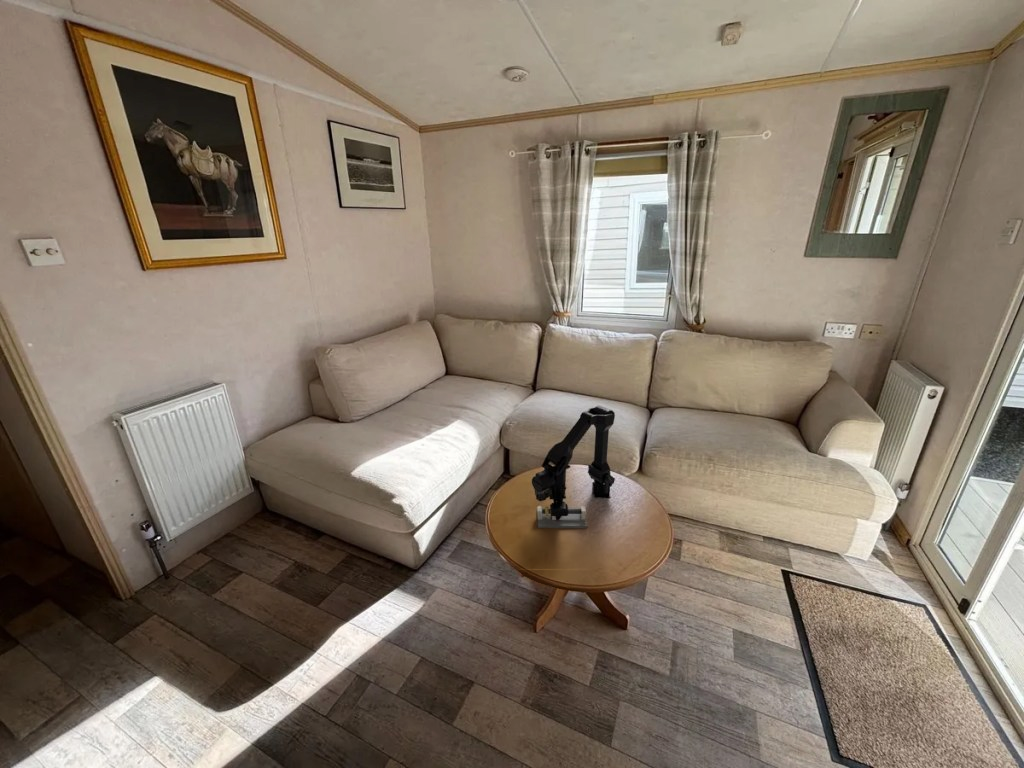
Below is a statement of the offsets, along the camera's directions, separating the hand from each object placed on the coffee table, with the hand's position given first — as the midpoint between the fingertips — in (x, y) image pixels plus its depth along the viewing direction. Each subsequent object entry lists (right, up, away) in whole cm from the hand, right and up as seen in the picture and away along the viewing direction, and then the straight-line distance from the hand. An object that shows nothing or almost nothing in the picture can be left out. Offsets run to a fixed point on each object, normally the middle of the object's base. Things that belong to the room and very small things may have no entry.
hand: (557, 515), depth 151 cm
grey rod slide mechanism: (+2, -2, 0) cm, 2 cm away
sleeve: (0, 0, 0) cm, 0 cm away
